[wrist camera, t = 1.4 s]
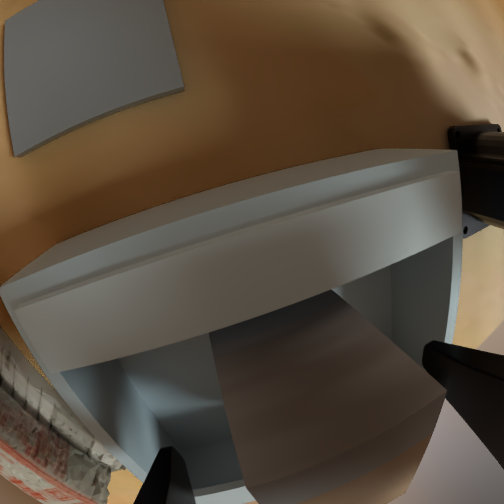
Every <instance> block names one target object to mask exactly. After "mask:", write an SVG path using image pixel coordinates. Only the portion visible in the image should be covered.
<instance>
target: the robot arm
mask: <svg viewBox="0 0 504 504" xmlns="http://www.w3.org/2000/svg"><path fill="white" fill-rule="evenodd" d="M448 138H449V145H450V150H457V153H458V161H459V170H460V181H461V196H462V225H463V236H462V238H467V237H469V236H471V235H473V234H474V233H476V232H478V231H480V230H482V229H484V228H485V227H487V226H489V225H492V226H495V227H499V228H502V229H504V132H502V131H501V127H500V126H499V125H498V124H483V125H464V126H451V127H450V128H449V129H448ZM422 365H423V367H424V369H425V370H426V371H427V373H428V374H429V375H431V376H432V377H433V378H434V379H435V380H436V381H437V382H438V383H439V384H441V385H442V386H443V387H444V388H445V389H446V390H447V393H446V396H445V398H446V399H447V401H448V402H449V403H450V404H451V405H452V406H453V407H454V409H455V410H456V411H457V412H458V413H459V415H460V416H461V417H462V418H463V419H464V420H465V422H466V423H467V424H468V425H469V427H470V428H471V429H472V430H473V431H474V433H475V434H476V435H477V436H478V437H479V439H480V440H481V441H482V442H483V443H484V445H485V446H486V447H487V449H488V450H489V451H490V452H491V454H492V455H493V456H494V457H495V459H496V460H497V461H498V463H499V464H500V465H501V467H502V468H503V469H504V355H499V354H494V353H489V352H485V351H480V350H476V349H471V348H467V347H462V346H458V345H453V344H449V343H445V342H441V341H436V340H432V341H430V342H429V343H427V344H426V345H425V346H424V348H423V355H422ZM134 504H196V501H195V497H194V493H193V490H192V486H191V483H190V479H189V475H188V471H187V467H186V463H185V461H184V459H183V457H182V456H181V455H180V454H179V452H178V451H177V450H176V449H175V448H174V447H173V446H166V447H162V448H160V449H159V451H158V453H157V456H156V458H155V460H154V462H153V464H152V466H151V468H150V470H149V472H148V474H147V476H146V479H145V481H144V483H143V485H142V487H141V489H140V491H139V493H138V495H137V497H136V499H135V501H134Z"/></svg>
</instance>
